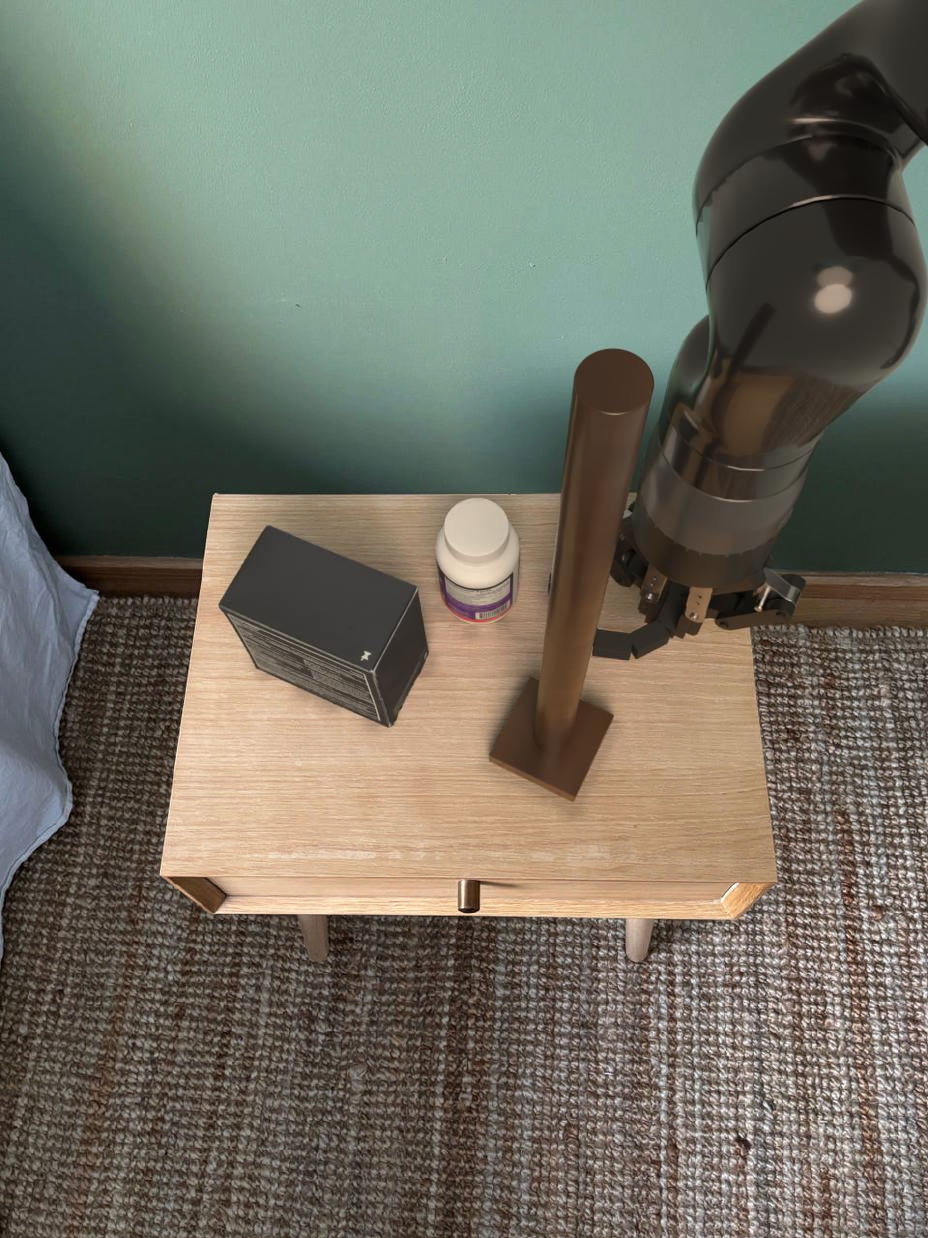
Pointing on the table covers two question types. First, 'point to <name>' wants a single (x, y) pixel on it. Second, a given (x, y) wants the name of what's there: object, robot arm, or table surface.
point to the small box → (328, 624)
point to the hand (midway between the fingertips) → (668, 618)
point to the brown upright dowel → (580, 574)
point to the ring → (642, 630)
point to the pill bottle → (478, 561)
